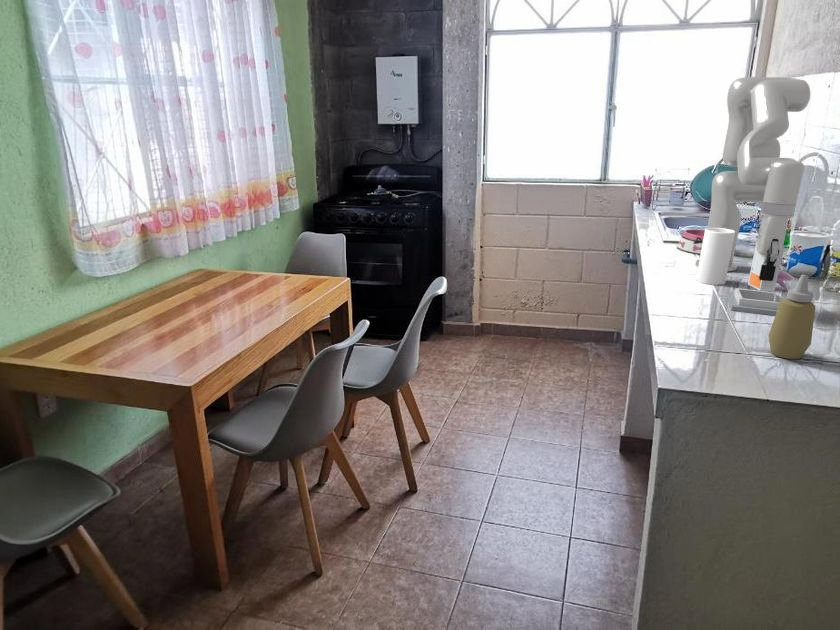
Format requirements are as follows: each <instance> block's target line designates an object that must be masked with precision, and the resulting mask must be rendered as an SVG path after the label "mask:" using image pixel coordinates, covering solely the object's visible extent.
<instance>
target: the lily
mask: <svg viewBox="0 0 840 630" xmlns="http://www.w3.org/2000/svg"><path fill="white" fill-rule="evenodd" d="M790 281H796V278H795V277H794V276H793V275H791V274H790V273H788V272H786V271H784V270H781V268H780V269H779V273H778V278H777V282H776V284H777V285H779V286H780V287H781V288H783V289H784V290H785V291H787V292H788V287H787V285H786V283H785V282H790Z"/></svg>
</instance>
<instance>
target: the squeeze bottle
mask: <svg viewBox="0 0 840 630" xmlns="http://www.w3.org/2000/svg"><path fill="white" fill-rule="evenodd" d="M813 298H814V293H813V292H811V291H809V275H808V274H801V275H800V277H799V279H798V281H797V282H796V285H795V287H794V288H790V289H787V293H786V298H782V299H783V300H781V301H780V304H779V307H778V310H777V312H776V315H775V316H774V319H773V320H772V324H771V327H770V329H769V333H768V342H769V349H770V353H771V354H772V355H775V356H777V357H780V358H782V359H787V360H799V359H801V358H802V357H803V355H804V354H805V353H806V352H807V350H808V349H809V347H810V346H811V344H812V337H813V329H814V322H815V314H816V305H815V303H813V302H812V301H813Z"/></svg>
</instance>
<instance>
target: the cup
mask: <svg viewBox="0 0 840 630" xmlns="http://www.w3.org/2000/svg"><path fill="white" fill-rule="evenodd" d="M704 230H705V233H704V238H703V244H702V249H701V255H699V259H698V260H699V266H697V272H696V273H697V274H696V277H695V281H697V282H698V283H701V284H704V283H706V284H705V285H710V284H713V285H712V286H721V285H720V284H723V285H726V282H727V281H726V280H727V274H728V272H729V271H728V266H729V261H730V256H731V251H732V246H733V241H734V236H735V231H734V230H730V229H725V228H707V227H705V229H704ZM718 284H719V285H718Z"/></svg>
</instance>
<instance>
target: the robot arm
mask: <svg viewBox="0 0 840 630" xmlns="http://www.w3.org/2000/svg"><path fill="white" fill-rule="evenodd" d="M726 99H727V101H726V103H727V113H728V126H727V129H726V135H725V140H724V145H723V151H722V152H723V153H722V161H723V164H724V165H726V166H729V167H735V168H737V170H726V171H725V170H724V171H721V172H718V173H717V174H715V175H714V176H713V178H712V180H711V200H710V209H709V216H708V222H707V227H706V228H725V229H730V230H734V231H735V236H734V241H733V246H732V251H731V256H730V261H729V266H728V271H727V272H734V271H736V270H737V268H738V265H737V264H735V263H733V262H734V258H735V253H736V252H735V251H736V248H737V242H738V237H739V232H740V227H741V222H742V213H741V211H740V209H739V207H738V206H737V203H762V205H761V209H760V213H759V214H760V215H761V216H762V218H761V222H760V226H759V228H758V229H759V230H758V233H757V237H756V241H755V245H754V247H756V243H757V242H758V243H757V249H756V250H757V251H758V252H759V253H760V254H763V253H765V255H764V263H763V265H762V266H761V271H760V276H759V279H760V280H765V281H773V278H774V273H775V269H776V262H777V256H779V255H780V254H781V252H782V248H783V247H784V242H785V240H786V233H787V228H788V223H789V219H792V218H794V216H795V211H796V207H797V201H798V197H799V193H800V189H801V184H802V180H803V177H804V176H803V175H804V172H805V164H804V163H803V162H801V161H798V160H796V159H794V158H789V157H780V156H781V144H780V140H778V138H780V137H782V136H783V135H784V134H786V132H787V131H788V129H789V128H790V121H789V114H788V113H798V112H802V111H804V110H805V109H806V108H807V107H808V105H809V102H810V99H811V88H810V84H809V83H808V82H807V81H806V80H803V79H799V78H794V77H770V76H747V77H746V76H744V77H740V78H739V77H738V78H737V79H735V80H734V81H732V83H731V84H730V86H729V89H728V91H727V98H726ZM770 247H771V253H767V251H768V249H769V248H770ZM778 251H779V253H778ZM777 254H778V255H777ZM767 256H770V257H768V258H767ZM699 260H700V259H697V260H696V261H695V266H697V267H698V266H699Z"/></svg>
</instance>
